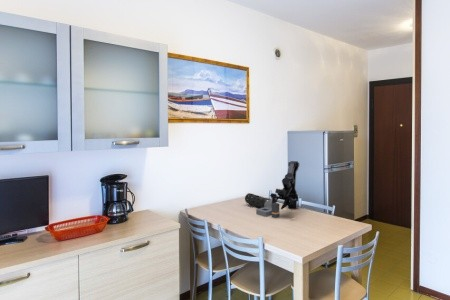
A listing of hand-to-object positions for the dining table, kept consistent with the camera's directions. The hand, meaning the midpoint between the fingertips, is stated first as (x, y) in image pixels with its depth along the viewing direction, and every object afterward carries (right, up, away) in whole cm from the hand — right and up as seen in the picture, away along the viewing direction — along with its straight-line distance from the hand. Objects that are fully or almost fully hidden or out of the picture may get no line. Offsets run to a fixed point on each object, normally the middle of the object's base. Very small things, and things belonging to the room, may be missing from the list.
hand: (276, 207), depth 229 cm
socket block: (-7, -7, +7) cm, 13 cm away
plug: (-1, -8, 0) cm, 8 cm away
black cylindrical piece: (-10, -6, +30) cm, 32 cm away
